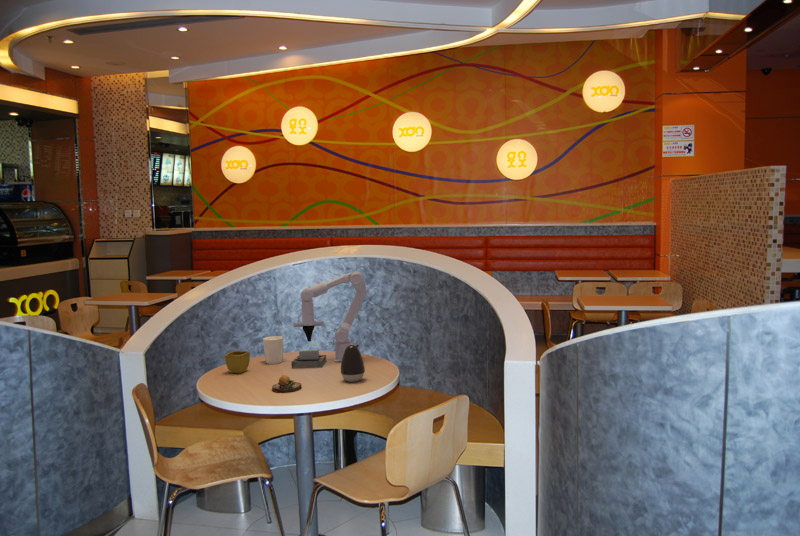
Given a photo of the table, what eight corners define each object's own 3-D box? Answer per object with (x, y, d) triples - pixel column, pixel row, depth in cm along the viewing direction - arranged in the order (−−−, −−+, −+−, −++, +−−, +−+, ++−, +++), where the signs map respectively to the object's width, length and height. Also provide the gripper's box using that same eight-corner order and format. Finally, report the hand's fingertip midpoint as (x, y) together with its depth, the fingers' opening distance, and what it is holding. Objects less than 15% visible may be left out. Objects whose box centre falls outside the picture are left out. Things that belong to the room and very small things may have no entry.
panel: (319, 362, 295) (318, 349, 294) (318, 363, 293) (317, 350, 292) (300, 362, 295) (299, 350, 294) (299, 363, 293) (299, 351, 292)
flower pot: (224, 374, 281) (223, 354, 281) (234, 369, 290) (233, 350, 289) (242, 374, 279) (241, 355, 278) (251, 370, 288) (250, 351, 287)
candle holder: (260, 364, 299) (259, 339, 299) (270, 359, 309) (269, 336, 308) (278, 364, 297) (277, 340, 296) (288, 360, 306) (286, 336, 305)
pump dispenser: (369, 378, 263) (368, 343, 262) (357, 384, 254) (355, 347, 253) (349, 376, 268) (347, 341, 267) (336, 382, 258) (334, 346, 257)
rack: (326, 361, 300) (326, 354, 300) (321, 367, 287) (321, 360, 286) (298, 361, 301) (297, 355, 301) (291, 368, 287) (291, 361, 287)
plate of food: (307, 388, 251) (306, 370, 250) (282, 395, 243) (281, 376, 242) (290, 384, 259) (289, 366, 259) (266, 390, 251) (265, 372, 251)
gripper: (324, 311, 302) (325, 339, 303) (294, 312, 303) (296, 340, 303) (321, 313, 295) (323, 341, 296) (291, 314, 295) (293, 342, 296)
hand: (309, 341), depth 299 cm, fingers closed
